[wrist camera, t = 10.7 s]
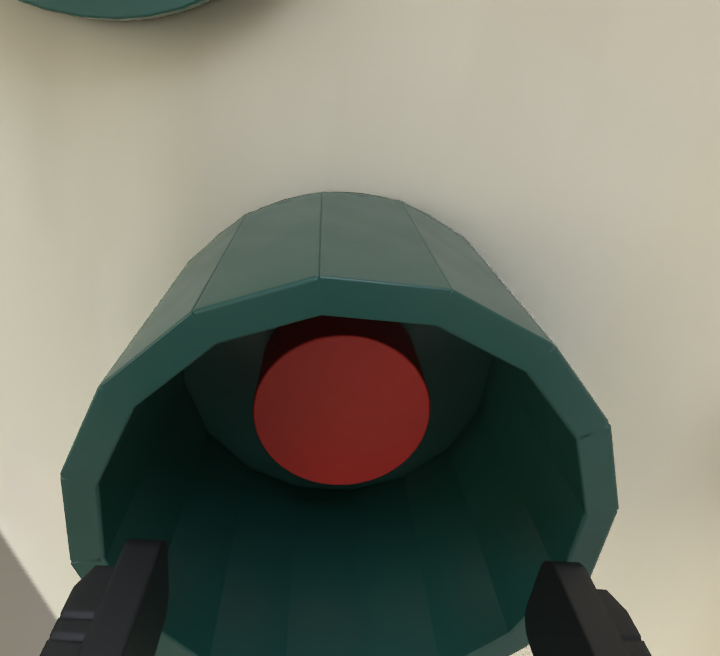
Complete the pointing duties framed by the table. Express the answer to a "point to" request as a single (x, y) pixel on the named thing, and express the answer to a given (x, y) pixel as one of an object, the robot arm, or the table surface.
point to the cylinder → (340, 399)
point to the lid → (116, 8)
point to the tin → (354, 501)
